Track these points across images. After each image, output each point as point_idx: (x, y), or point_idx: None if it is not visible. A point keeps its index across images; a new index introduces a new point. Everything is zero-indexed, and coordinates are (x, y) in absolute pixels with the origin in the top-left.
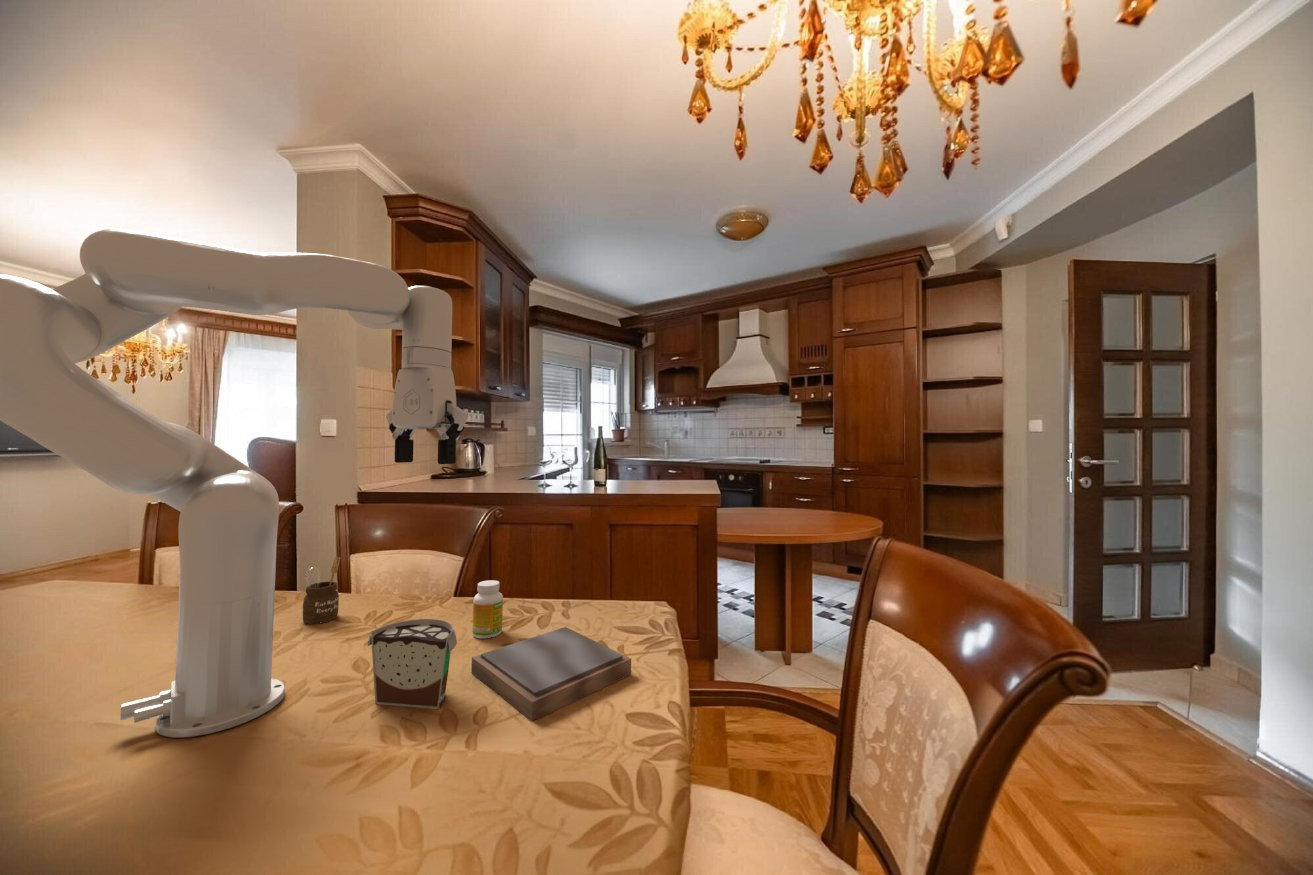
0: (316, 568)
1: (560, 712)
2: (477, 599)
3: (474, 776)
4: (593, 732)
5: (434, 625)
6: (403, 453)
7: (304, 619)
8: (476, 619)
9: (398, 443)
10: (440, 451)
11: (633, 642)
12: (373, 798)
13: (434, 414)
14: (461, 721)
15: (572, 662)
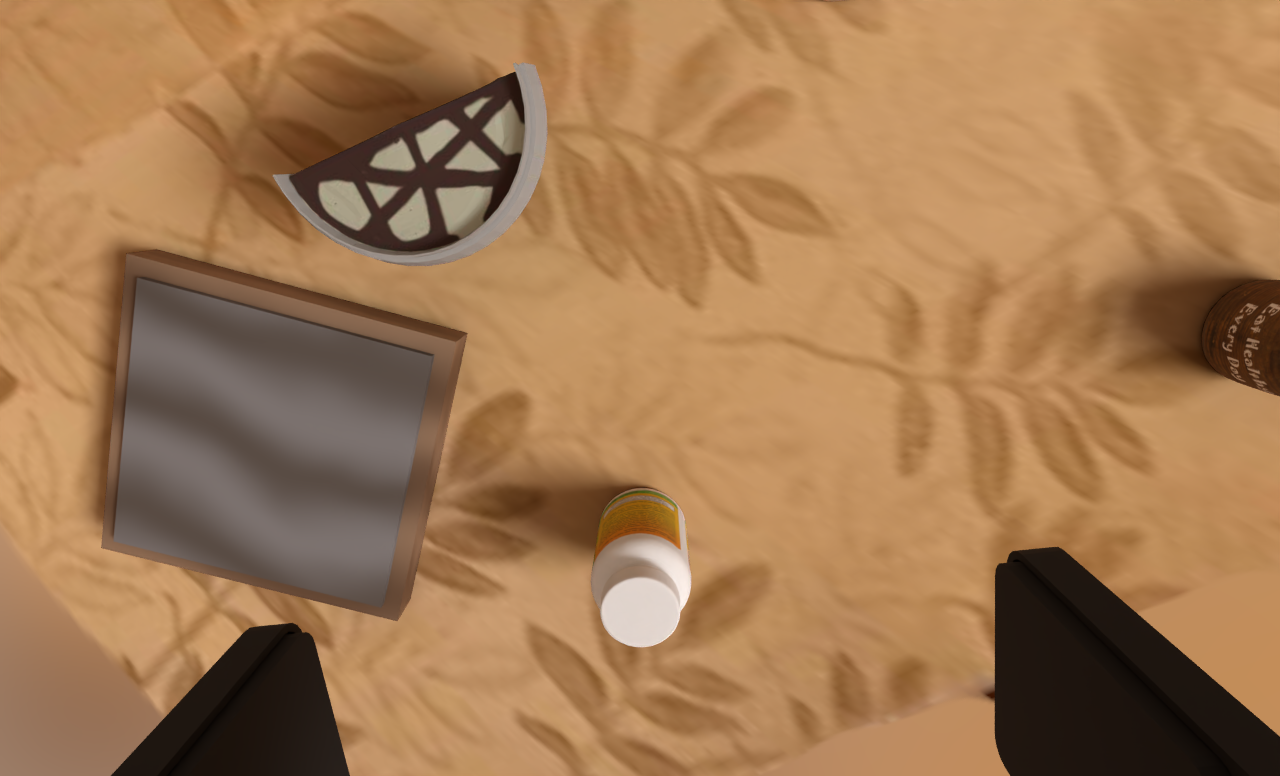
0: None
1: None
2: (642, 543)
3: (90, 45)
4: (20, 288)
5: (441, 243)
6: (1051, 696)
7: (1273, 280)
8: (641, 510)
9: (1161, 729)
10: (160, 725)
11: None
12: None
13: None
14: (286, 164)
15: (187, 445)
